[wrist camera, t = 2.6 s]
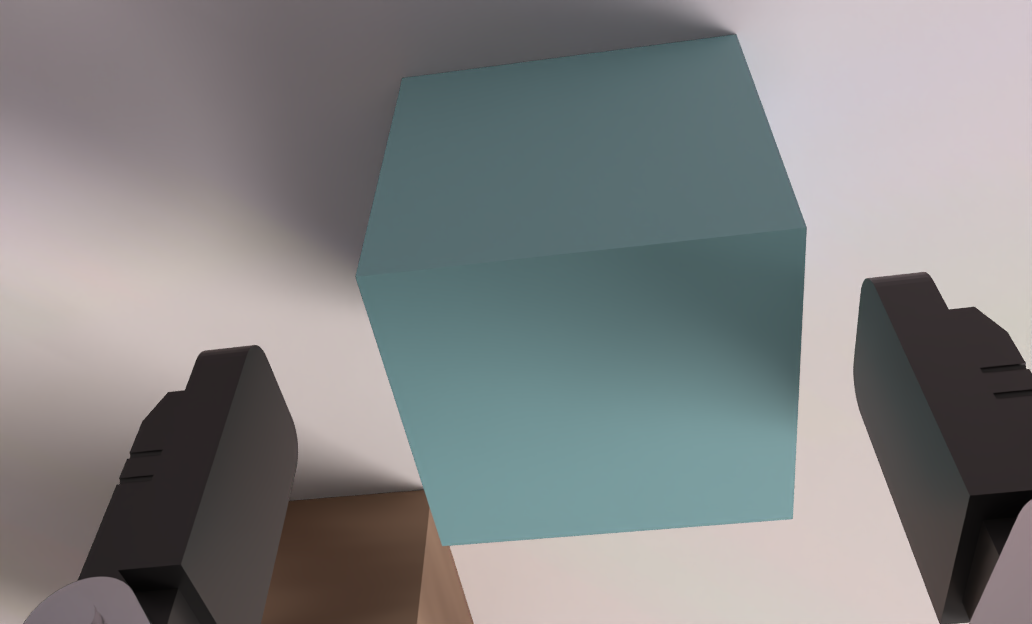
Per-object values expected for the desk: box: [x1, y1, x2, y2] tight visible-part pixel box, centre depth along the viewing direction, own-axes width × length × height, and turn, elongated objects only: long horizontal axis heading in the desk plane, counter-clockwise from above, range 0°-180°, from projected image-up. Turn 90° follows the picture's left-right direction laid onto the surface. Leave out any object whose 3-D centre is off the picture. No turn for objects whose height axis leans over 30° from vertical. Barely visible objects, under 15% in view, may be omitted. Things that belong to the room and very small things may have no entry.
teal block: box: [356, 34, 807, 546], centre depth 14 cm, size 5×5×5 cm
